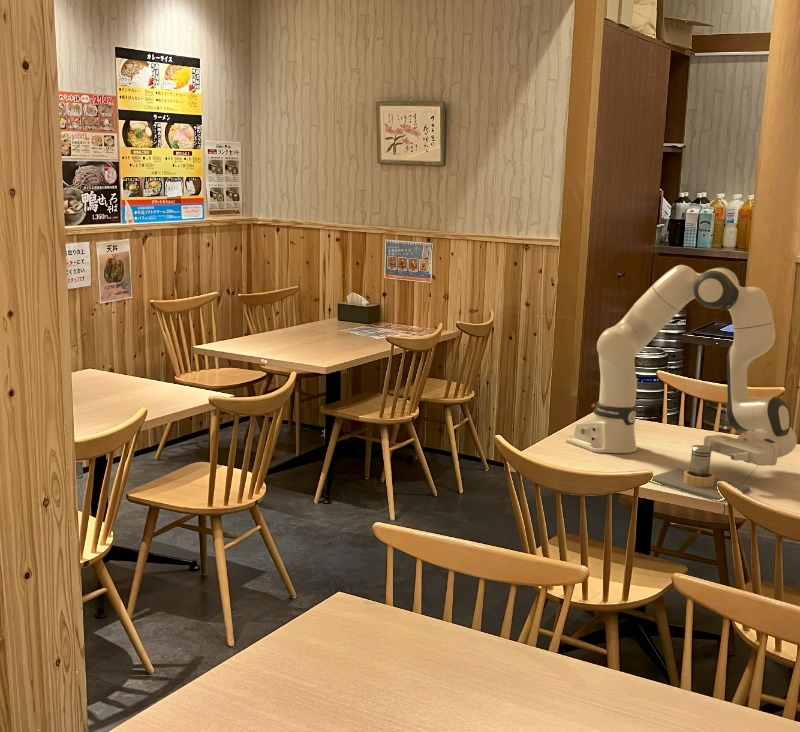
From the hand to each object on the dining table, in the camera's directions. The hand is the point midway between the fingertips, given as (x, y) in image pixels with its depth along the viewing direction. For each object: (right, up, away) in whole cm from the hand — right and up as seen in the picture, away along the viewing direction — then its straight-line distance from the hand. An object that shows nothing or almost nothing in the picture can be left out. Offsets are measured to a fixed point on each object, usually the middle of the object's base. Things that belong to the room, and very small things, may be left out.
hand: (719, 452), depth 268 cm
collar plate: (-7, -9, -2) cm, 11 cm away
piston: (-6, -8, -2) cm, 10 cm away
